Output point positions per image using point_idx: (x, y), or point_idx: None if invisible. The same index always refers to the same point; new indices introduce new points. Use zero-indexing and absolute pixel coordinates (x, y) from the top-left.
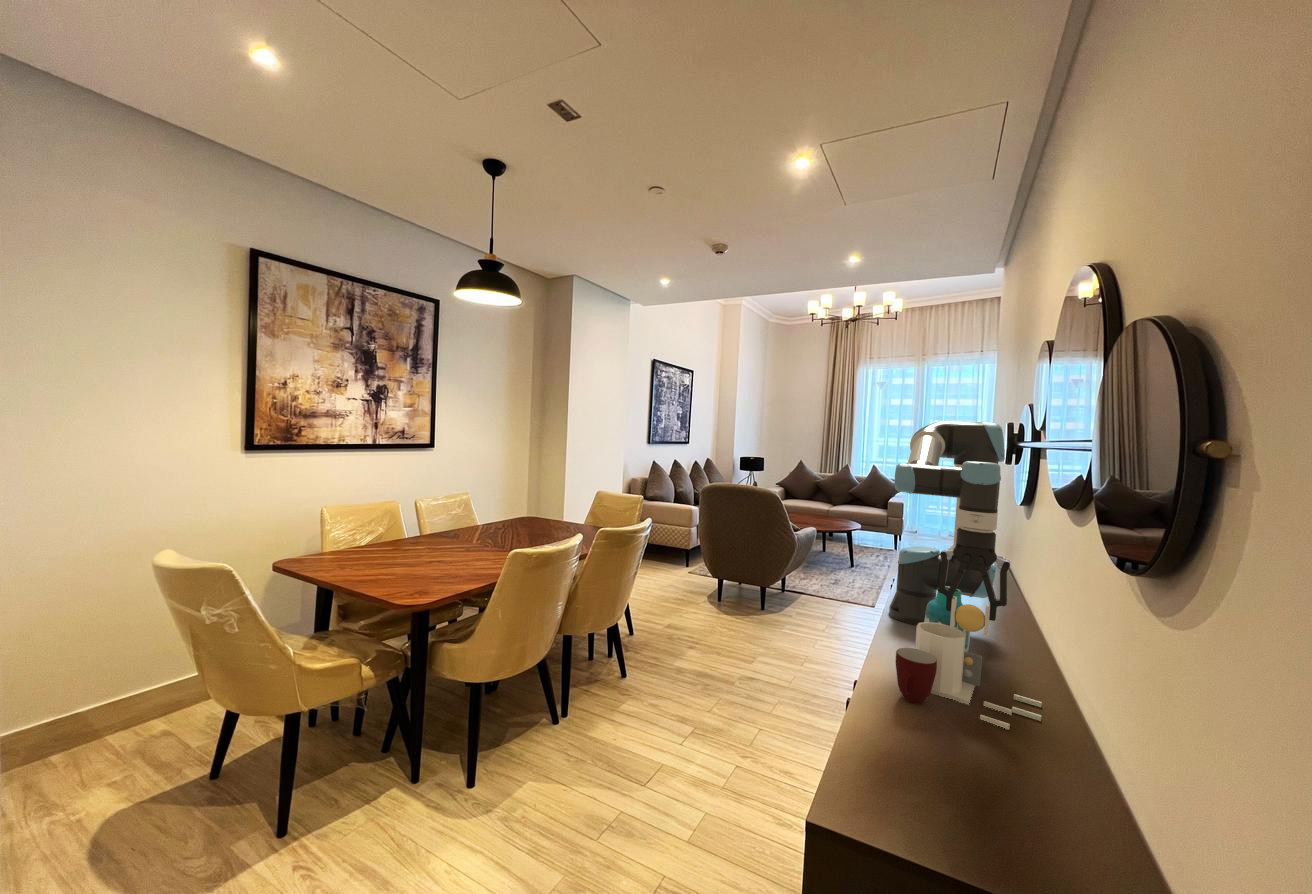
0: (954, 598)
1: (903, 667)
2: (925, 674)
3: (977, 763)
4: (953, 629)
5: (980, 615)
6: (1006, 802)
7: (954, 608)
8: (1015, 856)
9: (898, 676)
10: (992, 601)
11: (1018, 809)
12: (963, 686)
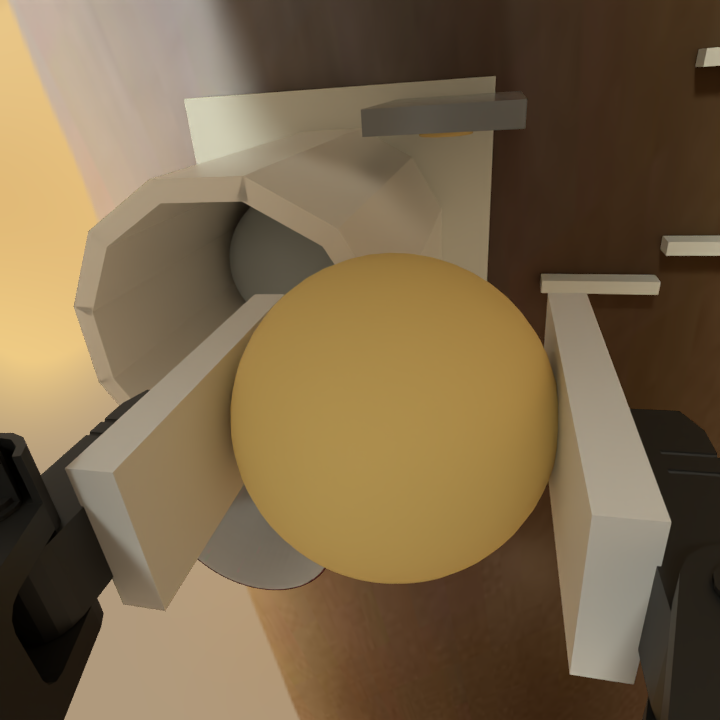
0: (131, 570)
1: (244, 548)
2: None
3: (527, 622)
4: (286, 222)
5: (498, 547)
6: (585, 708)
7: (218, 513)
8: None
9: (242, 487)
10: None
11: (607, 716)
12: (446, 184)
